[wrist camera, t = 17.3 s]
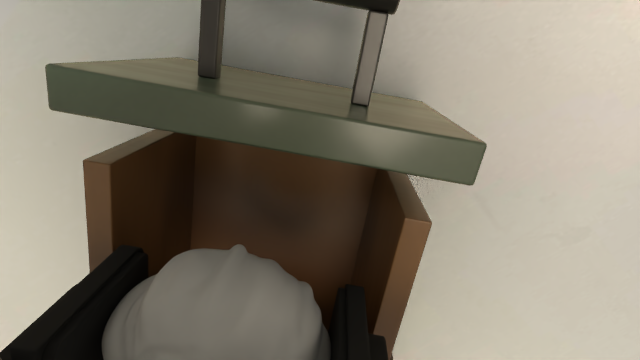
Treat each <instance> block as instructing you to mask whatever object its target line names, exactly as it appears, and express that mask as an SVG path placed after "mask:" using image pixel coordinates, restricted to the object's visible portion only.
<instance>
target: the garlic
mask: <svg viewBox="0 0 640 360" xmlns="http://www.w3.org/2000/svg"><path fill="white" fill-rule="evenodd" d="M102 355H103V359H104V360H330V359H331V342H330V337H329V334H328V332H327V330H326V328H325V326H324V324H323V323H322V314H321V311H320V308H319V306H318V304H317V303H316V301H315V299H314V296H313V290H312V288H311V286H310V285H309V284H308V283H306V282H303V281H298V280H297V279H296V278H295V277H293V276H292V275H290V274H289V273H287V272H286V271H285V270H284V269H283V268H282V267H281V266H280V265H279V264H278V263H277V262H276V261H274V260H272V259H265V258H260V257H258V256H256V255H253V254H250V253H248V252H247V250H246V248H245V247H244V246H243V245H241V244H237V245H235V246H233V247H232V248H231V249H230V250H221V249H207V248H203V249H193V250H189V251H186V252H183V253H181V254H178V255H177V256H175V257H173V258H172V259H171V260H170V261H169V262H168V263H167V264H166V265H165V266H164V267H163V268H162V269H161V270H160V271H159V273H158V274H156V275H153V276H151V277H149V278H147V279H145V280H144V281H142V282H141V283H139V284H138V285H136V286H135V287H134V288H133V289H132V290H130V291H129V292H128V293H127V294H126V295H125V296H124V298H123V299H122V300H121V301H120V302H119V304H118V305H117V307H116V308H115V309H114V311H113V313H112V314H111V316H110V318H109V320H108V322H107V324H106V326H105V329H104V332H103V336H102Z"/></svg>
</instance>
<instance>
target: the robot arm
mask: <svg viewBox="0 0 640 360" xmlns="http://www.w3.org/2000/svg"><path fill="white" fill-rule="evenodd" d="M147 278H148V254H146V253H144V251H143V249H142V248H140V247H134V246H129V245H121V246H119V247H118V248H117V249H116V250H115V251H114V252H113V253H111V254H110V255H109V256H108V257H107V258H106V259H105V260H104V261H103V262H102V263H100V264H99V265H98V266H97V267H96V268H95V269H94V270H93V271H92V272H91V273H89V274H88V275H87V276H86V277H85V278H84V279H83V280H82V281H81V282H80V283H78V284H76V285H75V286H74V287H72V288H71V289H70V290H69V291H68V292H67V293H66V294H64V295H63V296H62V297H61V298H60V299H59V300H58V301H57V302H56V303H54V304H53V305H52V306H51V307H50V308H49V309H48V310H47V311H46V312H44V313H43V314H42V315H41V316H40V317H39V318H38V319H37V320H36V321H34V322H33V323H32V324H31V325H30V326H29V327H28V328H27V329H26V330H25V331H23V332H22V333H21V334H20V335H19V336H18V337H17V338H16V339H15V340H13V341H12V342H11V343H10V344H9V345H8V346H7V347H6V348H5V349H3V350H2V351H1V352H0V360H104V359H103V355H102V336H103V332H104V329H105V326H106V324H107V322H108V320H109V318H110V316H111V314H112V313H113V311H114V309H115V308H116V307H117V305H118V304H119V302H120V301H121V300H122V299H123V298H124V296H125V295H126V294H127V293H128V292H129V291H130V290H132V289H133V288H134V287H135V286H136V285H138V284H139V283H141V282H142V281H144V280H145V279H147ZM328 334H329V337H330V342H331V359H330V360H389V359H388V353H387V346H386V340H385V338H384V336H380V335H374V334H369V333H368V325H367V314H366V303H365V292H364V287H361V286H356V285H350V284H346V285H345V288H338V291H337V295H336V300H335V304H334V308H333V313H332V317H331V322H330V326H329V330H328Z"/></svg>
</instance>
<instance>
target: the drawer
mask: <svg viewBox="0 0 640 360" xmlns="http://www.w3.org/2000/svg"><path fill="white" fill-rule="evenodd" d="M314 1H319V2H325V3H330V4H336V5H341V6H347V7H352V8H358V9H363V10H369V12H368V14H367V18H366V24H365V29H364V34H363V39H362V44H361V49H360V54H359V59H358V64H357V69H356V74H355V79H354V85H353V89H350V88H344V87H339V86H333V85H328V84H322V83H317V82H311V81H305V80H300V79H294V78H289V77H283V76H278V75H272V74H267V73H261V72H256V71H250V70H245V69H239V68H234V67H228V66H223V65H221V62H222V48H223V34H224V20H225V6H226V0H201V17H200V37H199V57H198V61H195V60H189V59H184V58H178V57H176V58H156V59H136V60H116V61H96V62H75V63H55V64H47V65H46V67H45V69H46V79H47V90H48V101H49V108H50V109H51V110H53V111H59V112H64V113H70V114H75V115H81V116H86V117H92V118H98V119H103V120H109V121H114V122H120V123H125V124H131V125H137V126H142V127H148V128H153V129H155V130H152V131H150V132H148V133H145V134H143V135H141V136H138V137H136V138H134V139H131V140H129V141H127V142H124V143H122V144H120V145H117V146H115V147H113V148H110V149H108V150H106V151H103V152H101V153H99V154H96V155H94V156H92V157H89V158H87V159H85V160H83V170H84V186H85V202H86V218H87V234H88V250H89V266H90V273H91V272H92V271H93V270H94V269H95V268H96V267H97V266H98V265H99V264H100V263H102V262H103V261H104V260H105V259H106V258H107V257H108V256H109V255H110V254H111V253H113V252H114V251H115V250H116V249H117V248H118V247H119V246H121V245H129V246H134V247H140V248H142V249H143V251H144V253H146V254H148V278H149V277H151V276H153V275H156V274H158V273H159V271H160V270H161V269H162V268H163V267H164V266H165V265H166V264H167V263H168V262H169V261H170V260H171V259H172V258H173V257H175V256H177V255H178V254H181V253H183V252H186V251H189V250H193V249H203V248H207V249H221V250H230V249H231V248H232V247H233V246H235V245H237V244H241V245H243V246H244V247H245V248H246V250H247V252H248V253H250V254H253V255H256V256H258V257H260V258H265V259H272V260H274V261H276V262H277V263H278V264H279V265H280V266H281V267H282V268H283V269H284V270H285V271H286V272H287V273H289V274H290V275H292V276H293V277H295V278H296V279H297V280H298V281H303V282H306V283H308V284H309V285H310V286H311V288H312V290H313V296H314V299H315V301H316V303H317V304H318V306H319V308H320V311H321V314H322V323H323V324H324V326H325V328H326V330H327V332H328V330H329V326H330V322H331V317H332V313H333V308H334V304H335V300H336V295H337V291H338V288H345V285H346V284H350V285H356V286H361V287H364V292H365V303H366V314H367V325H368V333H369V334H374V335H380V336H384V338H385V340H386V346H387V353H388V359H389V360H390V357H391V353H392V350H393V347H394V344H395V340H396V337H397V334H398V331H399V328H400V324H401V321H402V318H403V315H404V312H405V308H406V305H407V302H408V299H409V296H410V292H411V289H412V286H413V283H414V279H415V276H416V273H417V270H418V267H419V263H420V260H421V257H422V254H423V251H424V247H425V244H426V241H427V238H428V235H429V231H430V228H431V225H432V222H431V220H430V218H429V216H428V214H427V212H426V210H425V208H424V206H423V205H422V203H421V201H420V199H419V197H418V195H417V193H416V191H415V189H414V187H413V185H412V183H411V181H410V180H409V178H408V176H407V174H409V175H415V176H420V177H426V178H431V179H437V180H442V181H448V182H454V183H459V184H465V185H473V184H474V182H475V179H476V176H477V173H478V170H479V167H480V164H481V161H482V158H483V156H484V153H485V150H486V147H487V146H486V143H485V142H483V141H481V140H480V139H478V138H477V137H475V136H474V135H472V134H471V133H469V132H468V131H466V130H465V129H463V128H462V127H460V126H458V125H457V124H455V123H454V122H452V121H451V120H449V119H448V118H446V117H445V116H443V115H442V114H440V113H439V112H437V111H435V110H434V109H432V108H431V107H429V106H428V105H426V104H425V103H423V102H422V101H416V100H410V99H405V98H399V97H394V96H388V95H383V94H377V93H372V89H373V85H374V80H375V76H376V71H377V66H378V62H379V57H380V52H381V48H382V43H383V38H384V34H385V29H386V25H387V20H388V14H391V15H392V14H395V12H396V10H397V8H398V5H399V2H400V0H314Z"/></svg>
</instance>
